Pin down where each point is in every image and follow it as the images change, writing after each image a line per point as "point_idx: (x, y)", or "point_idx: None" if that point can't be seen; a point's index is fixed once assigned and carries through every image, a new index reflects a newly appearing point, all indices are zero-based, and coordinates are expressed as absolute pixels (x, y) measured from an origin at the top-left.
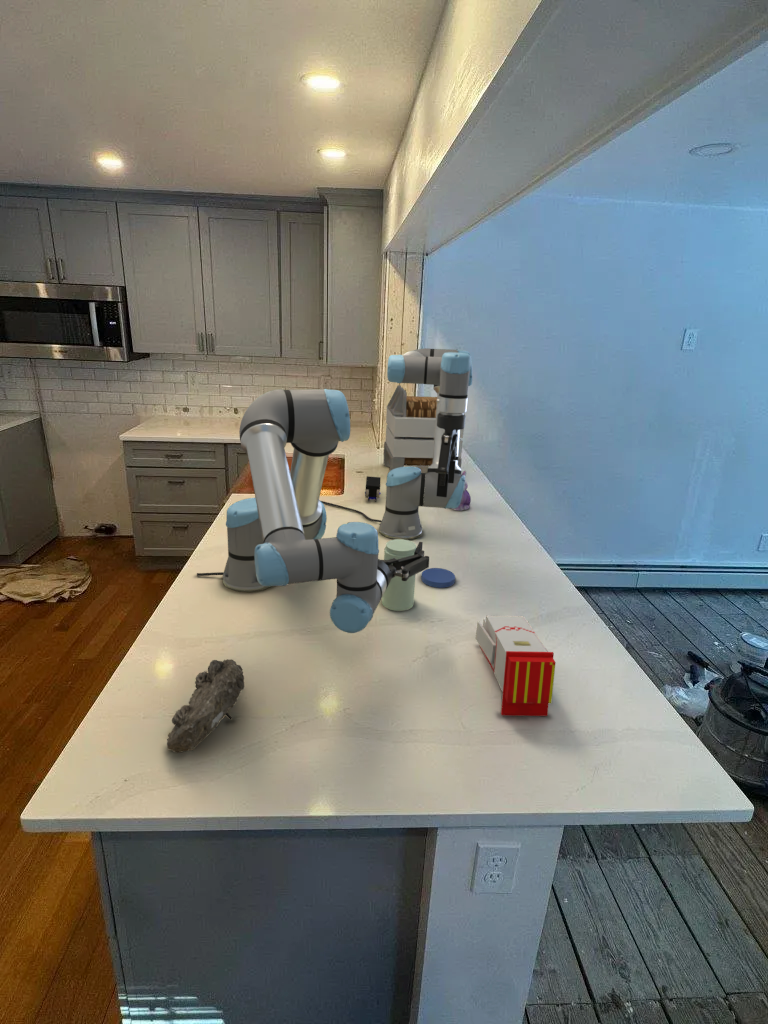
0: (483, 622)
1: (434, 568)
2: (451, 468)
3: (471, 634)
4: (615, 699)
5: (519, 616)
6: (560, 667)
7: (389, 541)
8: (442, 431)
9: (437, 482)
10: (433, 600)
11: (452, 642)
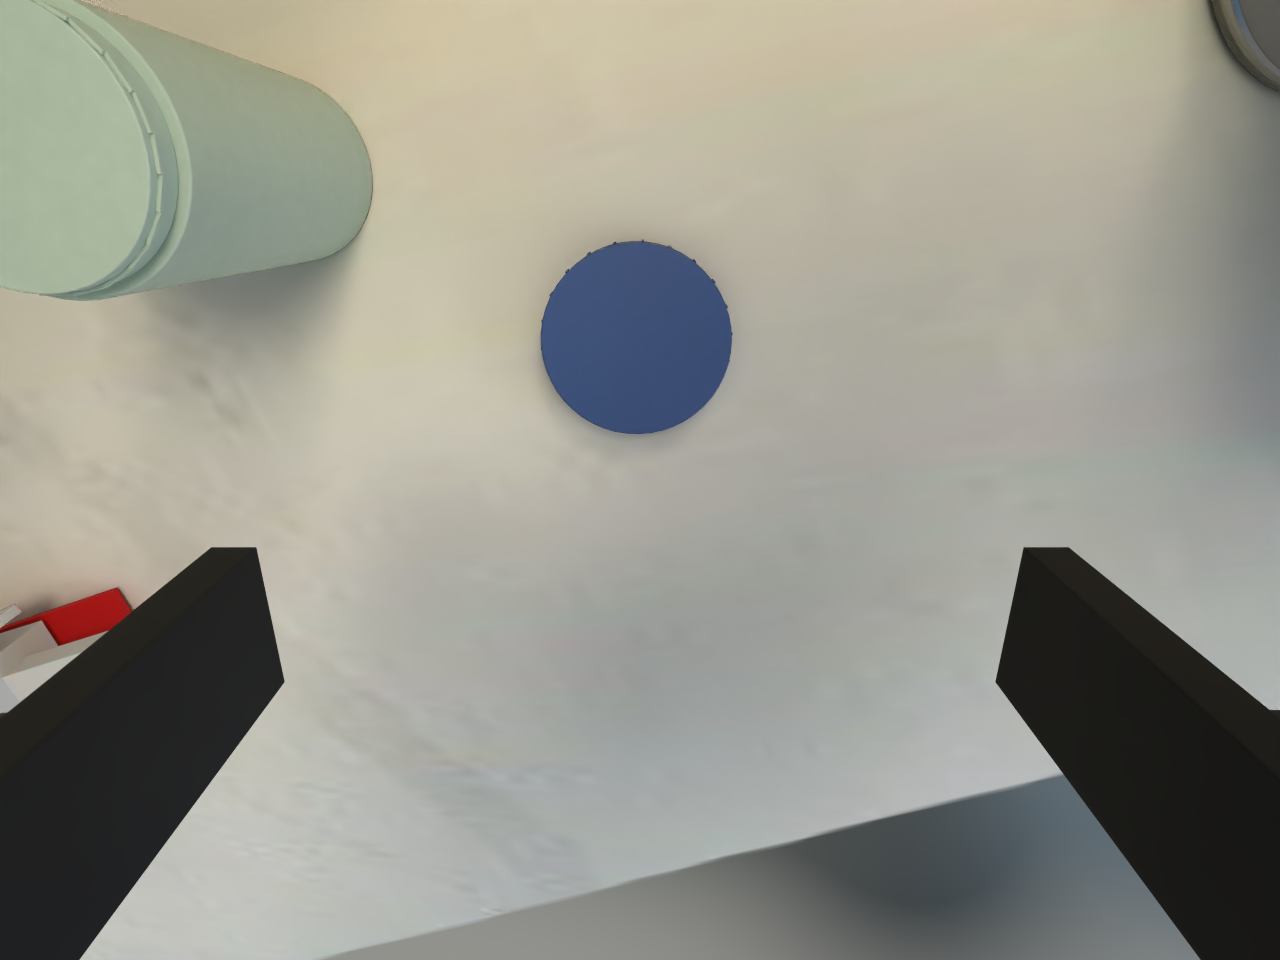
0: None
1: (718, 306)
2: (1173, 844)
3: (189, 551)
4: None
5: None
6: None
7: (6, 4)
8: None
9: (37, 690)
10: (402, 352)
11: (86, 488)
